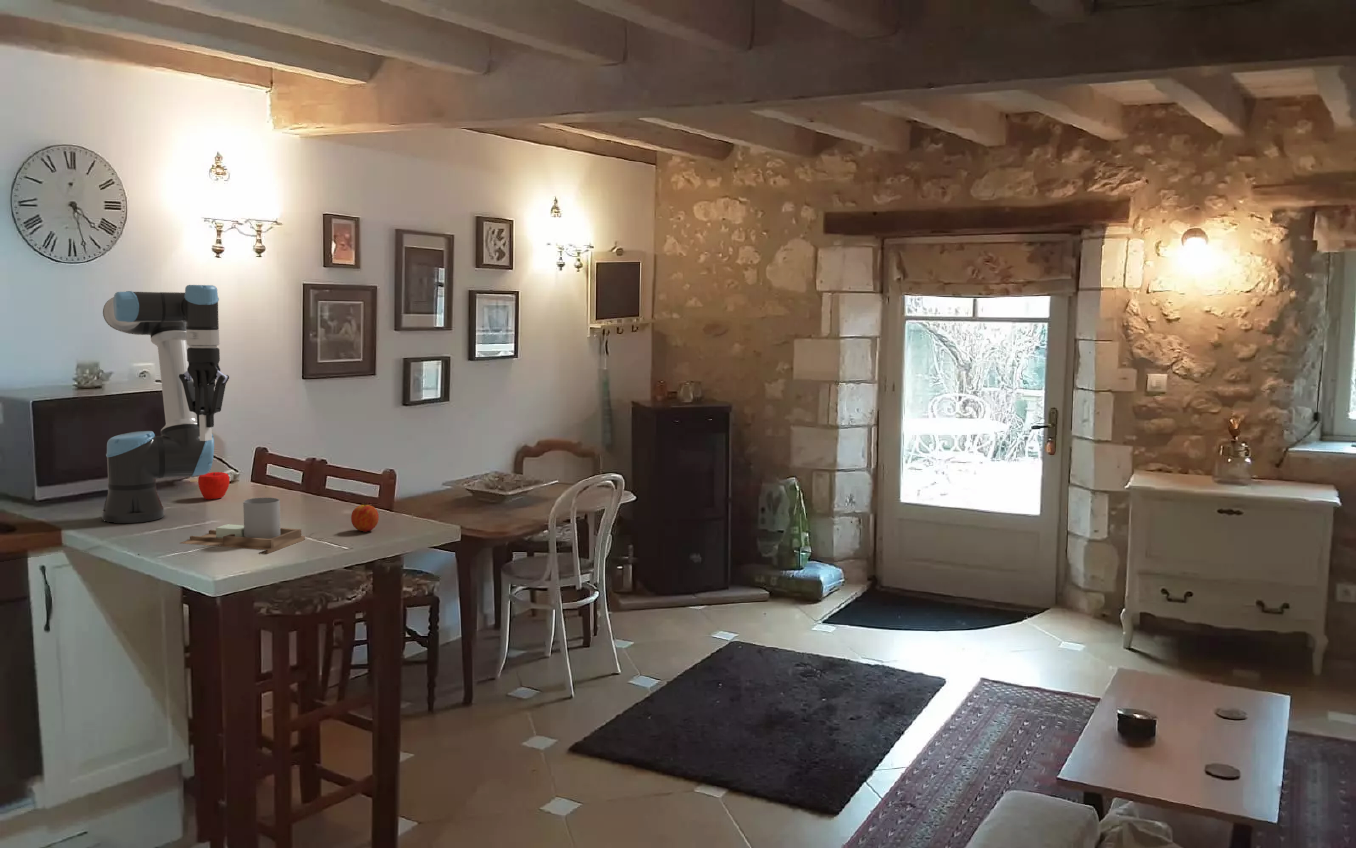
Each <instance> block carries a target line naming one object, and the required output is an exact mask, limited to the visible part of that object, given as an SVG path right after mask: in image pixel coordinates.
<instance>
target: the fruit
mask: <svg viewBox="0 0 1356 848" xmlns="http://www.w3.org/2000/svg"><path fill="white" fill-rule="evenodd" d="M366 503H367V502H366V500H365V501H364V504H360V505H358V506H356V507H355V508H354V509H353V511H352V512H351V516H350V521H351V524H352V526H353V527H354V528H355V529H356V530H358V531H359V532H361V531H363V532H364V533H367V532H370V531H373V530H374V529H375V528H376V527H377V525H378V523H379V521H380V520H379V517H380V516H379V513H378V510H377V509H376V508H375V506H373V505H370V504H366ZM363 532H362V533H363Z"/></svg>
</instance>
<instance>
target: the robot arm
mask: <svg viewBox="0 0 1356 848" xmlns="http://www.w3.org/2000/svg"><path fill="white" fill-rule="evenodd" d="M218 293H219V292H218V288H217V287H216V286H215V285H213V284H210V285H209V284H207V285H205V284H188V285H186V286H185V289H184V292H173V291H169V292H166V291H165V292H164V291H163V292H162V291H160V292H157V291H154V292H153V291H132V290H126V291H116V292H115V293H114V295H113V297H111V298H109V299H108V300H107V301H106V302H105V304H104V306H103V308H102V316H103V318H104V319H103V320H104V321H105V323H106V324H107V325H108V326H109V327H111V328H112V329H114V330H116V331H119V332H121V333H124V334H130V335H136V336H137V335H138V336H141V335H142V336H143V335H145V336H150V342H151V343H152V344H153V345H155V346H156V347H157V353H158V362H159V371H160V372H159V373H160V379H161V380H160V382H161V383H160V384H161V391H162V401H163V410H164V420H165V425H164V426H163V427H162V428H161V429H160V435H157V436H156V433H154V431H152V430H142V431H141V430H140V431H139V430H138V431H131V432H127V433H121V434H118V435H115V436H112V437H110V438H109V439H108V440H107V443H106V453H105V456H106V460H107V461H106V463H107V487H108V488H107V495H106V498H105V502H104V505H103V509H102V511H101V520H102V519H103V520H105V521H108V522H107V523H109V522H114V523H113V524H134V523H145V522H152V521H156V520H159V519H162V518H164V517H165V508H164V506H163V505H162V500H161V499H160V496H159V492H158V491H157V481H156V480H157V479H167V478H181V477H182V478H183V477H185V478H186V477H192V478H193V477H195V476H196V477H197V476H200V475H205V474H207V473H210V472H211V469H212V466H213V460H214V454H215V438H214V434H213V432H212V431H213V430H212V428H214V426H215V418H214V417H215V416H214V415H215V414H216V413H217V414H218V413H219V412H221V411H222V406H223V401H224V395H225V391H226V384H227V383H228V381H229V379H230V375H228V374H224V373H223V372H222V371H221V368H220V365H219V363H220V361H221V359H220V358H221V357H220V348H219V347H218V346H220V330H219V301H220V298H219V295H218ZM103 520H102V521H103ZM105 521H104V522H105Z"/></svg>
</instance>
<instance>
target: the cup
mask: <svg viewBox="0 0 1356 848" xmlns="http://www.w3.org/2000/svg"><path fill="white" fill-rule="evenodd" d="M280 503H281V501H280V498H275V497H255V498H254V497H253V498H248V499H245V500H243V506H242V507H243V525H244V537H250V538H263V539H271V538H274V537H277V536H280V528H281V504H280Z"/></svg>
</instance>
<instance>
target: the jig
mask: <svg viewBox="0 0 1356 848" xmlns="http://www.w3.org/2000/svg"><path fill="white" fill-rule="evenodd" d="M305 540H306V537H305V535H302V528H287V527H280V536H277V537H274V538H271V539H263V538H250V537H236V536H235V534H229V535H226V536H223V538H216V529H210V530H209V529H208V533H207V534H203V535H199V536H198V535H190V536H189V539H188V540H185V541H182V542H180V544H186V545H199V546H200V545H201V546H212V547H225V548H239V549H250V550H251V549H253V550H262V551H260V552H258V554H265V555H267V554H271V553H274V552H276V551H279V550H281V549H284V548H287V547H290V546H292V545H294V544H298V543H300V542H303V541H305Z"/></svg>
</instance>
